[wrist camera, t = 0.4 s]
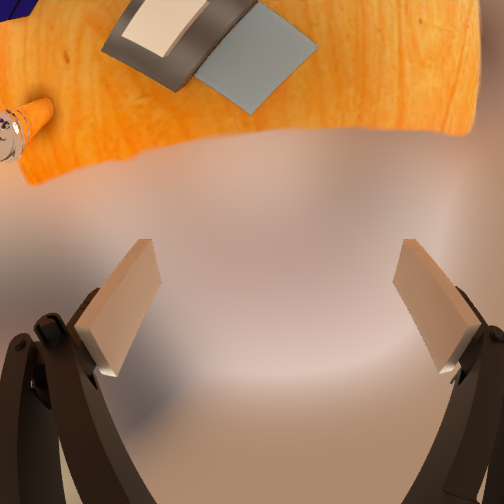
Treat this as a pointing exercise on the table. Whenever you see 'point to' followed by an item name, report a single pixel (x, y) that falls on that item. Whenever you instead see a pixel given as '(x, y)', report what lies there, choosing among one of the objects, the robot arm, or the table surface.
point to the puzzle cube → (15, 9)
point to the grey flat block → (185, 51)
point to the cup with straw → (22, 127)
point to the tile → (163, 23)
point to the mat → (255, 58)
